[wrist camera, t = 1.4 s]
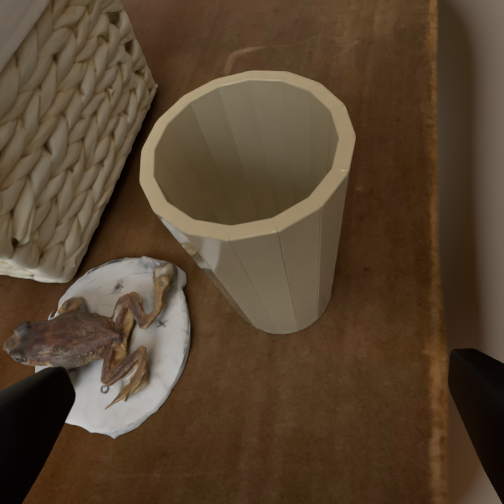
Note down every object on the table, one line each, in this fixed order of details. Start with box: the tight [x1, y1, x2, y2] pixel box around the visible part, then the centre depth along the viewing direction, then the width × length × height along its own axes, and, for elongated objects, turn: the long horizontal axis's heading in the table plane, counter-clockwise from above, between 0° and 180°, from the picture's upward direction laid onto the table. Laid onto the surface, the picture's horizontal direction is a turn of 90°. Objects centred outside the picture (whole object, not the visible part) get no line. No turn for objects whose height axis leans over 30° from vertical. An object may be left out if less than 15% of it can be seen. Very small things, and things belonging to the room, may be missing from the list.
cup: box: [139, 70, 356, 334], centre depth 16 cm, size 7×7×13 cm
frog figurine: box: [3, 256, 191, 439], centre depth 20 cm, size 12×12×4 cm
